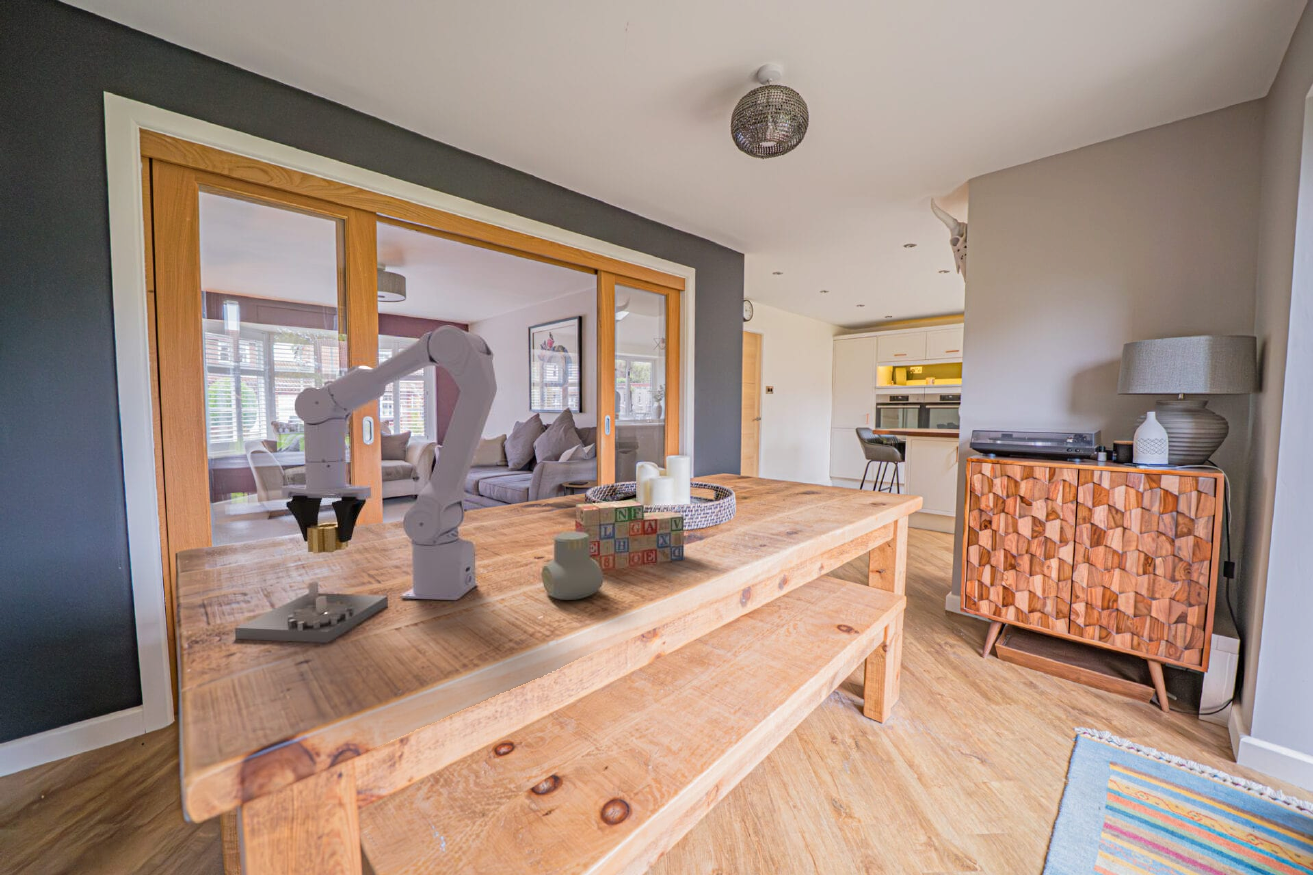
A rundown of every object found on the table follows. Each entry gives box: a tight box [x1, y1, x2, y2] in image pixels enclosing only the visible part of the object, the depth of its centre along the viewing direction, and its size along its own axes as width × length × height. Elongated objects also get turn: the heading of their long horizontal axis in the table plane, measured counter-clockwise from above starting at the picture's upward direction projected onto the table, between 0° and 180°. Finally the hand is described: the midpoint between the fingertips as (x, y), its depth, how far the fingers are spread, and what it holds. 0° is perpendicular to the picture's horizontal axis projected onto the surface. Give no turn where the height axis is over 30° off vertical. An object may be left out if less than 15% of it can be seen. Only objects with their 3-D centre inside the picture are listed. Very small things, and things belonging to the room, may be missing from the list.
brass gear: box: [307, 521, 349, 554], centre depth 86 cm, size 6×6×4 cm
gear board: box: [234, 581, 389, 644], centre depth 73 cm, size 13×13×4 cm
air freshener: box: [541, 531, 604, 601], centre depth 85 cm, size 11×8×10 cm
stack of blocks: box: [574, 499, 685, 571], centre depth 103 cm, size 21×6×12 cm, turn 114°
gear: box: [287, 601, 353, 631], centre depth 70 cm, size 8×8×1 cm
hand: (328, 540), depth 86 cm, fingers closed on brass gear, 6 cm apart
